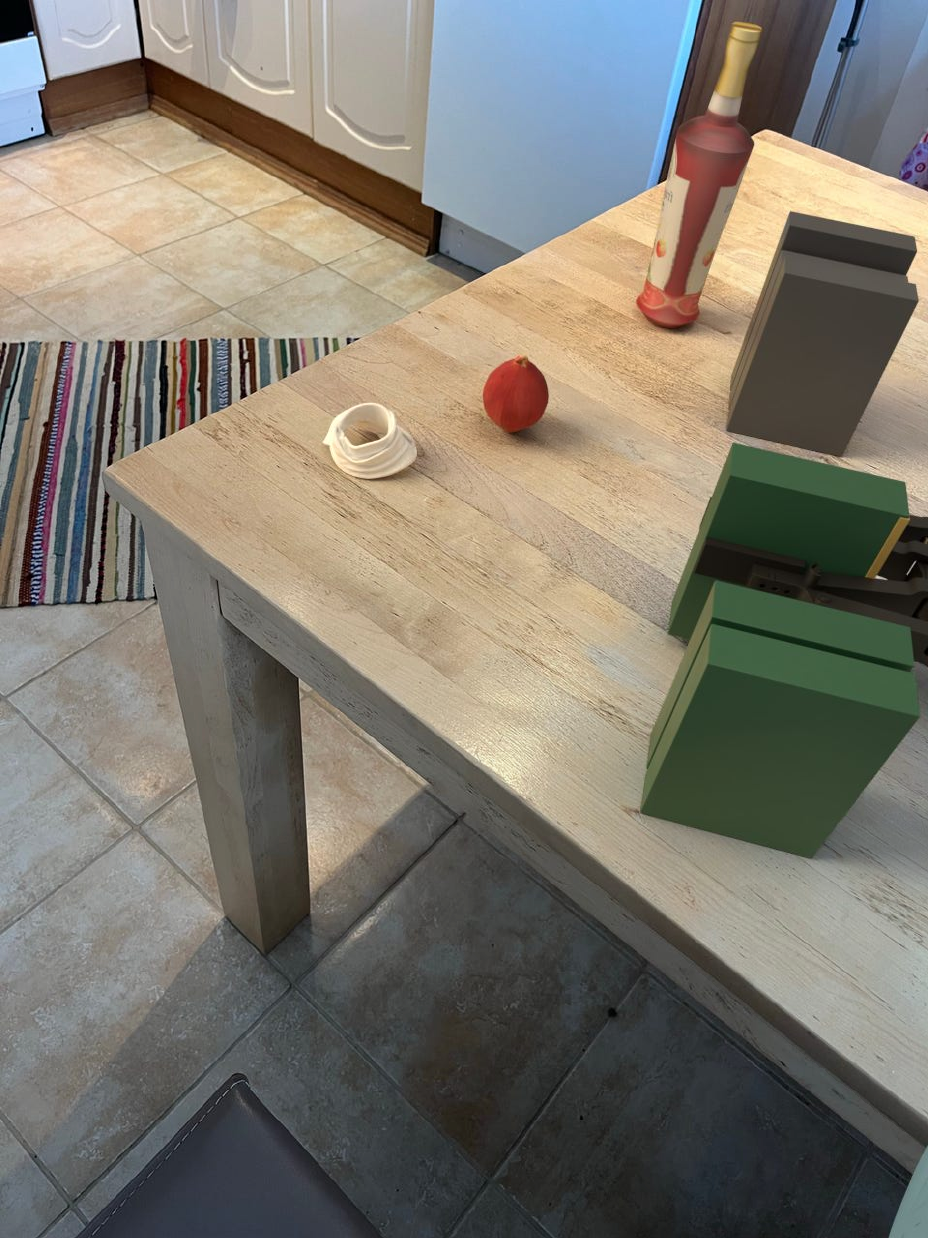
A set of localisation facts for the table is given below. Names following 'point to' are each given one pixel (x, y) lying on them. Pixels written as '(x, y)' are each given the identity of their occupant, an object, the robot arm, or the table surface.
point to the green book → (794, 520)
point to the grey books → (821, 333)
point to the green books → (778, 718)
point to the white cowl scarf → (374, 456)
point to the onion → (515, 394)
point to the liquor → (700, 191)
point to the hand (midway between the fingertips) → (703, 534)
